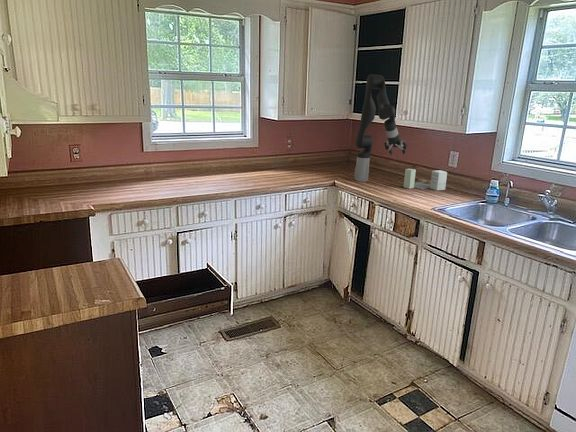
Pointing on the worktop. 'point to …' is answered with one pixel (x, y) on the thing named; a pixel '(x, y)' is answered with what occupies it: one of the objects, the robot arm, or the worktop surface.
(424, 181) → the rail
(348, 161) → the worktop surface
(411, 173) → the block
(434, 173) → the supplement box
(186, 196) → the worktop surface
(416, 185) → the mat
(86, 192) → the worktop surface
